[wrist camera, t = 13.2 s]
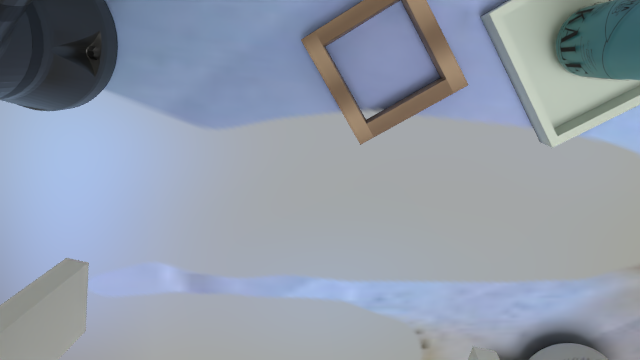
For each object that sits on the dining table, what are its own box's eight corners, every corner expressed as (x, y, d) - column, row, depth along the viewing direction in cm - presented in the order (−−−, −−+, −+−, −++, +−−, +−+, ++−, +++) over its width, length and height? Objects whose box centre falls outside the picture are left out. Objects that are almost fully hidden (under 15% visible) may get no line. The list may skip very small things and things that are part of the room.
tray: (480, 16, 41) (489, 13, 38) (627, -70, 38) (649, -80, 35) (540, 142, 44) (552, 147, 41) (682, 70, 41) (706, 71, 38)
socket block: (304, 41, 43) (300, 39, 40) (407, -24, 41) (411, -30, 38) (360, 139, 45) (360, 144, 43) (461, 83, 43) (468, 85, 40)
